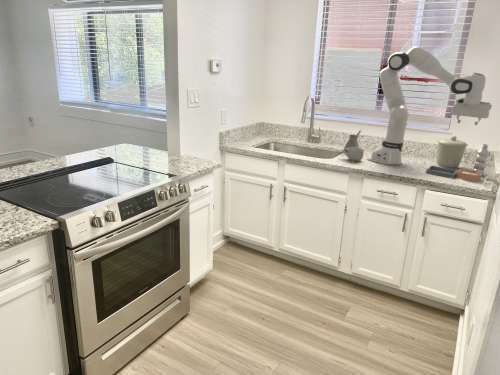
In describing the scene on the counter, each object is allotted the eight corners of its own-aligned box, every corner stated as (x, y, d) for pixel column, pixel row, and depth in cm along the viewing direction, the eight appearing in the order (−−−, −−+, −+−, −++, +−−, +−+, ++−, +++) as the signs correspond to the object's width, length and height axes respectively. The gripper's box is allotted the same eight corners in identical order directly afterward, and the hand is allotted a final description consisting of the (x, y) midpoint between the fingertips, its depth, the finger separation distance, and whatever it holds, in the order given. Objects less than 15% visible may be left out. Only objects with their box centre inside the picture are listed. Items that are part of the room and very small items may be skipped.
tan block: (461, 176, 231) (463, 171, 230) (469, 177, 229) (470, 172, 228) (460, 177, 228) (461, 172, 227) (467, 179, 226) (468, 174, 225)
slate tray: (425, 174, 235) (426, 169, 234) (430, 169, 245) (431, 165, 244) (453, 179, 226) (454, 174, 225) (456, 174, 237) (457, 170, 236)
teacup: (365, 160, 260) (367, 149, 258) (358, 163, 253) (359, 151, 250) (347, 156, 269) (348, 145, 267) (339, 159, 261) (341, 147, 259)
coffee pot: (356, 155, 275) (359, 134, 270) (341, 152, 280) (343, 132, 276) (365, 150, 292) (368, 131, 287) (351, 148, 297) (353, 129, 293)
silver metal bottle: (470, 176, 235) (478, 144, 229) (471, 174, 240) (479, 143, 234) (482, 178, 232) (490, 146, 225) (483, 176, 237) (491, 144, 231)
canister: (463, 166, 258) (470, 136, 251) (460, 172, 244) (468, 139, 237) (435, 161, 268) (441, 132, 261) (430, 166, 253) (436, 135, 246)
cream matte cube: (469, 177, 229) (471, 172, 228) (477, 179, 227) (478, 174, 226) (468, 179, 226) (469, 173, 225) (475, 180, 224) (476, 175, 223)
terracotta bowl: (455, 179, 226) (457, 172, 225) (458, 175, 236) (460, 168, 234) (478, 184, 220) (480, 176, 218) (480, 179, 229) (482, 172, 228)
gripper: (492, 102, 225) (487, 125, 229) (454, 99, 236) (450, 121, 240) (492, 103, 220) (486, 126, 224) (453, 99, 231) (448, 122, 235)
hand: (467, 123), depth 232 cm, fingers open, 8 cm apart
